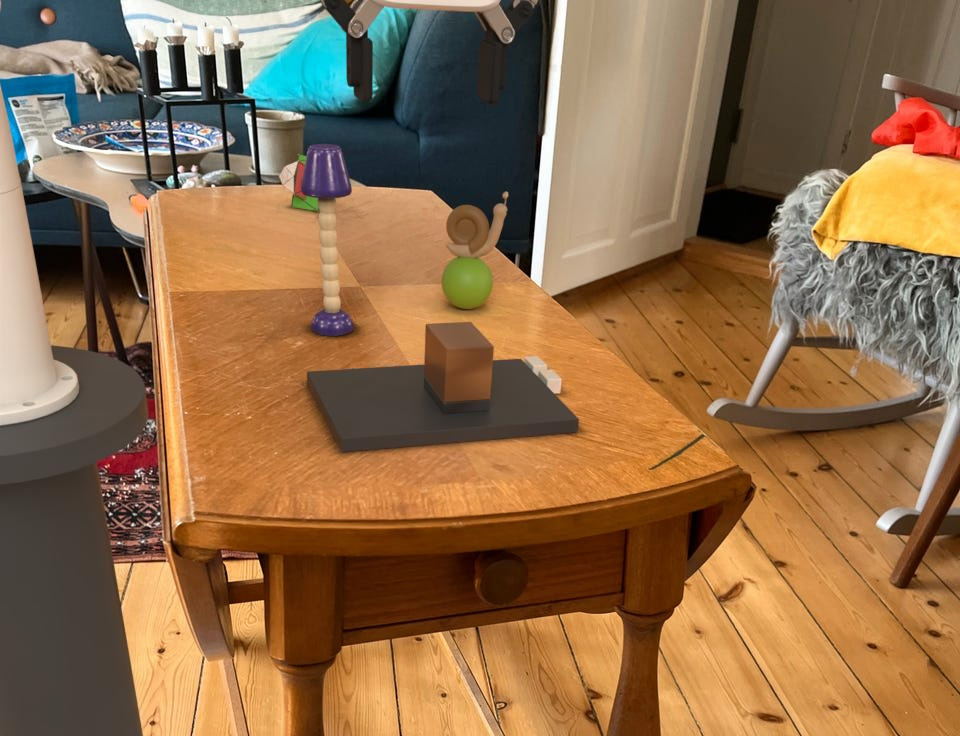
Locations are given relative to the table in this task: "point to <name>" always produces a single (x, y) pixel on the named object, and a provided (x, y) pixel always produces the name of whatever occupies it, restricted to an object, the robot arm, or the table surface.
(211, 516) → the table surface
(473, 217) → the snail figurine
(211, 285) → the table surface
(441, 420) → the board
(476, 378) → the eraser
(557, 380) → the chalk piece
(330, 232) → the toy lamp
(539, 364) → the chalk piece
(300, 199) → the geometric puzzle
